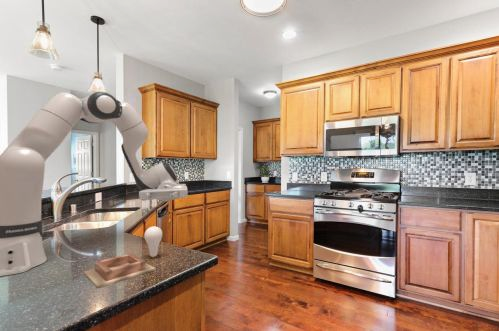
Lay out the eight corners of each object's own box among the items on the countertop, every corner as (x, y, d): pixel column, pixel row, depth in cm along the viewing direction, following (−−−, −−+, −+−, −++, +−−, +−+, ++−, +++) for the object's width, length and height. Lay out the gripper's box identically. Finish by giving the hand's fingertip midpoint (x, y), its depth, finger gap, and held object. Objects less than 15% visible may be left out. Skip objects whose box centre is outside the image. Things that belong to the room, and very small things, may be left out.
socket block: (97, 288, 66) (97, 276, 66) (83, 273, 76) (83, 263, 76) (155, 270, 78) (155, 260, 78) (137, 259, 87) (137, 250, 87)
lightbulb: (144, 261, 86) (144, 229, 86) (144, 255, 91) (144, 225, 91) (163, 258, 88) (163, 227, 88) (161, 253, 94) (161, 224, 94)
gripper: (143, 185, 114) (133, 190, 100) (189, 183, 116) (185, 187, 103) (144, 199, 114) (134, 205, 100) (189, 197, 117) (186, 202, 103)
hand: (160, 196), depth 101 cm, fingers open, 8 cm apart
